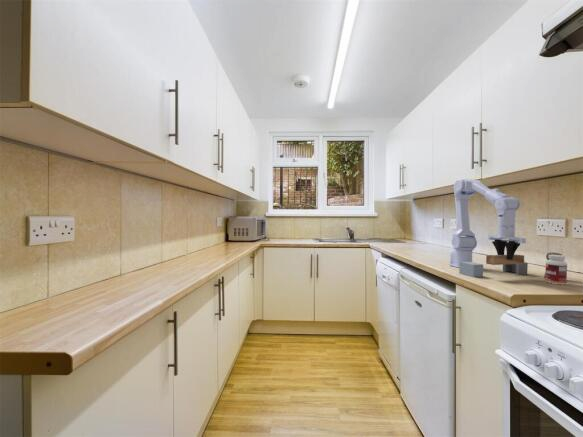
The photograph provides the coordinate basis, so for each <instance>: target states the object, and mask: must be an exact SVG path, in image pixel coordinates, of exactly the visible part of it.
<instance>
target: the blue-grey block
mask: <svg viewBox="0 0 583 437" xmlns="http://www.w3.org/2000/svg"><path fill="white" fill-rule="evenodd" d="M458 269H459V270H458V271H459V272H458V273H459V275H463V276H468V277H470V278H471V277H472V278H480V277H482V278H483V277H484V264H483V263H478V262H473V261H472V262H460V264H459V268H458Z"/></svg>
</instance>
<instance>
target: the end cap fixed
mask: <svg viewBox="0 0 583 437" xmlns="http://www.w3.org/2000/svg"><path fill="white" fill-rule="evenodd" d="M528 264H529V263H528V262H525V261H524V264H506V265H502V272H503V273H510V272H511V273H515V275H517V276H523V275H524V276H525V275H528V268H529V267H528Z"/></svg>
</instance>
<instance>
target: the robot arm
mask: <svg viewBox="0 0 583 437" xmlns="http://www.w3.org/2000/svg"><path fill="white" fill-rule="evenodd" d="M453 193H454V194H453V195H454V202H455V216H456V228H457V230H456V231H455V232H453V233H452V240H451V245H452V247H453V249H451V251H450V255H449V257H450V260H449V263H450V264H448V266H450V267H454V268H455V267H456V268H458V269H459V264H460V262H473V251H474V250H475V249H476V247H477V245H478V241H477V238H476V234H475V233H474V232H473V231H472V230H471V226H470V216H469V204H468V199H469V198H470V197H473V195H474V194H476V193H478V194H480V195H482V196H484V199H485V200H486V201H487V202H488V203H491V205H493V206H494V208H495V209H496V214H497V235H491V234H490V235H488V236H487V237H488V241H489V240H491V241H492V242H491V243H492V244H493V246H494V248H495V251H496V253H497V254H496V255H505V251H506V255H507V259H508V260H512V259H513V256H514V255H515V253H516V252H517V249H518V248H519V247H520V246H521V244H526V240H527V238H524V237H517V236H516V211H518V209H519V208H520V204H521V203H520V200H519V199H518V198H517V197H515V196H511V197H510V196H509V195H508V194H506V193H502V192H501V190H500V189H499V188H493V189H490V187H488V186H486V185H485V184H483V183H482V181H481V180H479V179H465V178H464V179H462V178H458V179H456V180H455V183H454V184H453Z"/></svg>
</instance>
